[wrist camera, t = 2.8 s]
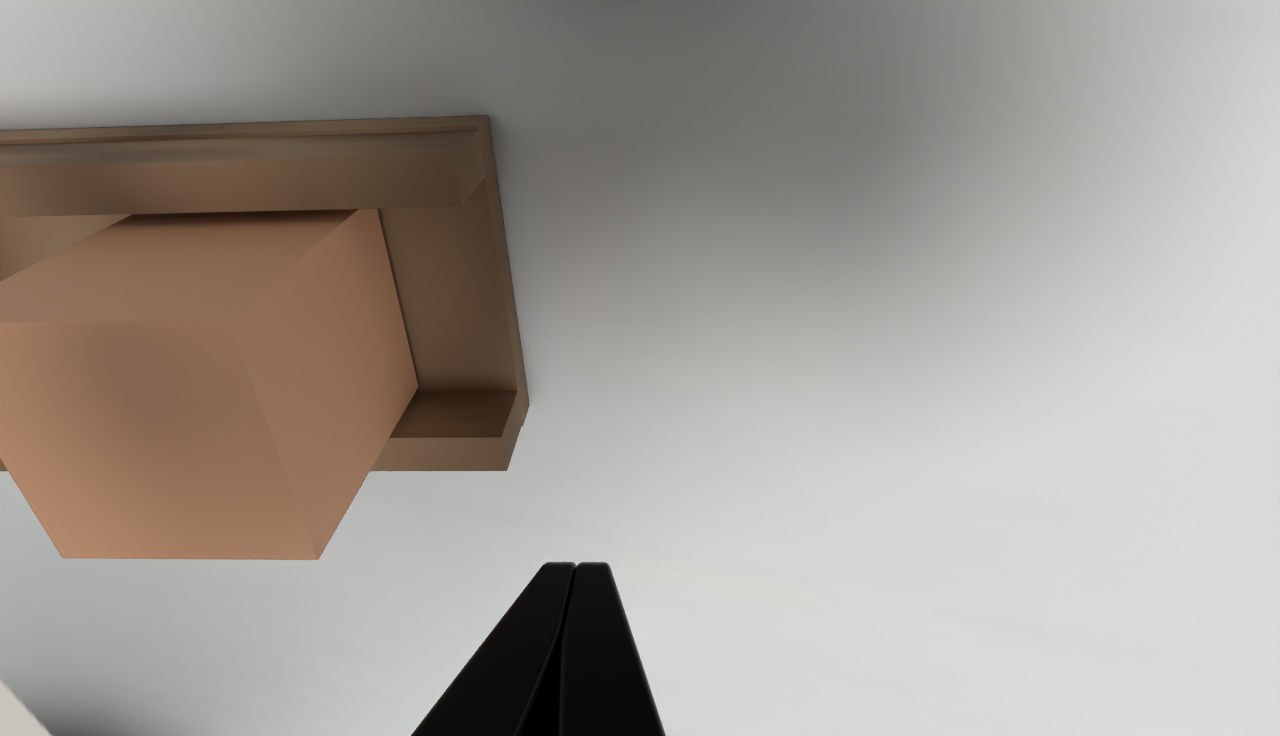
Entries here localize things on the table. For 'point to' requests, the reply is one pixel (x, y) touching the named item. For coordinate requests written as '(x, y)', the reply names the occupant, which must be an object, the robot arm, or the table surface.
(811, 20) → the table surface
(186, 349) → the block
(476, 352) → the chute
